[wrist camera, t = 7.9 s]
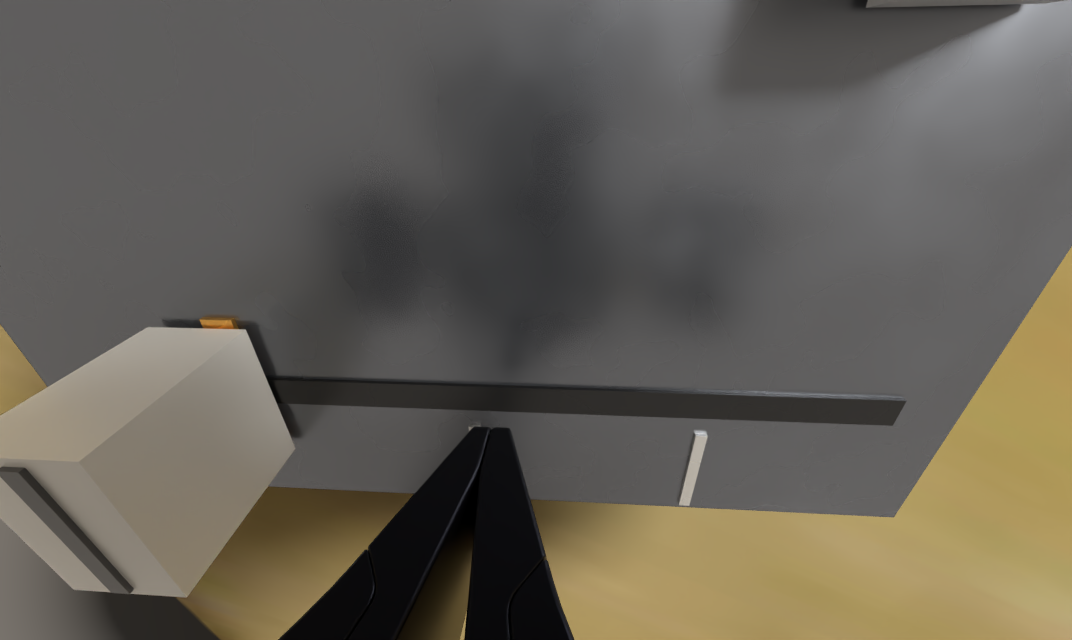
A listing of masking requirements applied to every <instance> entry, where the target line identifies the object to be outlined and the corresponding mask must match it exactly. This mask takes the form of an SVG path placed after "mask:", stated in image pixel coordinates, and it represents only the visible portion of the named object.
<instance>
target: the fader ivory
mask: <svg viewBox="0 0 1072 640" xmlns="http://www.w3.org/2000/svg"><path fill="white" fill-rule="evenodd" d="M295 449H296V448H295V446H294V444H293V441H292V439H291V436H290V434H289V432H288V429H287V427H286V424H285V422H284V420H283V417H282V415H281V412H280V410H279V408H278V405H277V403H276V401H275V398H274V396H273V393H272V391H271V389H270V386H269V384H268V381H267V379H266V377H265V374H264V372H263V369H262V367H261V365H260V362H259V360H258V358H257V355H256V353H255V350H254V348H253V346H252V343H251V341H250V338H249V336H248V334H247V331H246V330H245V329H205V328H165V327H147V328H145V329H144V330H142V331H140V332H139V333H137V334H135V335H134V336H132V337H130V338H129V339H127V340H125V341H124V342H122V343H120V344H119V345H117V346H115V347H114V348H112V349H110V350H109V351H107V352H105V353H104V354H102V355H100V356H99V357H97V358H95V359H94V360H92V361H90V362H89V363H87V364H85V365H84V366H82V367H80V368H79V369H77V370H75V371H74V372H72V373H70V374H69V375H67V376H65V377H64V378H62V379H60V380H59V381H57V382H55V383H54V384H52V385H50V386H49V387H47V388H45V389H44V390H42V391H40V392H39V393H37V394H35V395H34V396H32V397H30V398H29V399H27V400H25V401H24V402H22V403H20V404H19V405H17V406H15V407H14V408H12V409H10V410H9V411H7V412H5V413H4V414H2V415H0V519H1V520H2V521H3V522H4V523H5V524H7V526H8V527H10V528H11V530H12V531H14V532H15V533H16V534H17V535H18V536H19V537H20V538H21V539H22V540H23V541H24V542H25V543H26V544H27V545H28V546H29V547H30V548H31V549H32V550H33V551H34V552H35V553H36V554H37V555H38V556H40V558H41V559H42V560H43V561H44V562H46V563H47V564H48V565H49V566H50V567H51V568H52V569H53V570H54V571H55V572H56V573H57V574H58V575H59V576H60V577H61V578H62V579H63V580H64V581H65V582H66V583H67V584H68V585H69V586H70V587H71V588H72V589H74V590H83V591H98V592H111V593H120V594H144V595H157V596H158V595H159V596H172V597H188V595H189V594H190V593H191V591H192V590H193V589H194V587H195V586H196V584H197V583H198V582H199V580H200V579H201V578H202V576H203V575H204V573H205V572H206V571H207V569H208V568H209V567H210V565H211V564H212V562H213V561H214V560H215V558H216V557H217V556H218V554H219V553H220V552H221V550H222V549H223V547H224V546H225V545H226V543H227V542H228V541H229V539H230V538H231V536H232V535H233V534H234V532H235V531H236V530H237V528H238V527H239V525H240V524H241V523H242V521H243V520H244V519H245V517H246V516H247V514H248V513H249V512H250V510H251V509H252V508H253V506H254V505H255V503H256V502H257V501H258V499H259V498H260V497H261V495H262V494H263V493H264V491H265V490H266V488H267V487H268V486H269V484H270V483H271V482H272V480H273V479H274V477H275V476H276V475H277V473H278V472H279V471H280V469H281V468H282V466H283V465H284V464H285V462H286V461H287V460H288V458H289V457H290V455H291V454H292V453H293V451H294V450H295Z"/></svg>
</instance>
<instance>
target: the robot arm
mask: <svg viewBox="0 0 1072 640" xmlns="http://www.w3.org/2000/svg"><path fill="white" fill-rule="evenodd" d="M466 611H467V617H466V628H465V639H464V640H574V637H573V635H572V632H571V630H570V627H569V625H568V622H567V619H566V617H565V614H564V612H563V609H562V606H561V603H560V600H559V597H558V594H557V591H556V588H555V584H554V581H553V578H552V574H551V571H550V567H549V564H548V561H547V560H546V554H545V550H544V546H543V543H542V539H541V536H540V532H539V529H538V525H537V521H536V518H535V514H534V511H533V507H532V504H531V500H530V496H529V493H528V489H527V486H526V482H525V479H524V475H523V471H522V468H521V464H520V461H519V457H518V454H517V450H516V447H515V443H514V439H513V436H512V432H511V430H510V428H504V427H494V428H493V429H491V428H490V427H473V428H472V429H471V430H470V431H469V432H468V433H467V434H466V436H465V437H464V438H463V439H462V440H461V441H460V442H459V444H458V445H457V446H456V447H455V448H454V449H453V450H452V452H451V453H450V454H449V455H448V456H447V457H446V458H445V460H444V461H443V462H442V463H441V464H440V465H439V466H438V468H437V469H436V470H435V471H434V472H433V473H432V474H431V476H430V477H429V478H428V479H427V480H426V481H425V482H424V483H423V485H422V486H421V487H420V488H419V489H418V490H417V491H416V493H415V494H414V495H413V496H412V497H411V498H410V499H409V501H408V502H407V503H406V504H405V505H404V506H403V507H402V509H401V510H400V511H399V512H398V513H397V514H396V515H395V517H394V518H393V519H392V520H391V521H390V522H389V523H388V524H387V526H386V527H385V528H384V529H383V530H382V531H381V532H380V534H379V535H378V536H377V537H376V538H375V539H374V540H373V542H372V543H371V544H370V545H369V546H368V550H364V552H363V553H362V554H361V555H360V556H359V557H358V558H357V560H356V561H355V562H354V563H353V564H352V565H351V566H350V567H349V569H348V570H347V571H346V572H345V573H344V574H343V575H342V576H341V577H340V578H339V579H338V581H337V582H336V583H335V584H334V585H333V586H332V587H331V588H330V589H329V590H328V591H327V592H326V593H325V594H324V595H323V596H322V597H321V598H320V599H319V600H318V601H317V602H316V603H315V604H314V605H313V606H312V607H311V608H310V609H309V610H308V611H307V612H306V613H305V614H304V615H303V616H302V617H301V618H300V619H299V620H298V621H297V622H296V623H295V624H294V625H293V626H292V627H291V628H290V629H289V630H288V631H287V632H286V633H285V634H284V635H282V636H281V637H280V638H279V639H278V640H460V636H461V632H462V628H463V624H464V619H465V615H466Z"/></svg>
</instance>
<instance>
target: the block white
mask: <svg viewBox="0 0 1072 640" xmlns="http://www.w3.org/2000/svg"><path fill="white" fill-rule="evenodd" d="M1059 1H1065V0H868V2H867V5H866V8H874V7H918V6H962V5H1006V4H1045V3H1052V2H1059Z"/></svg>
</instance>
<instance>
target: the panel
mask: <svg viewBox="0 0 1072 640" xmlns="http://www.w3.org/2000/svg"><path fill="white" fill-rule="evenodd" d="M867 2H868V0H0V324H1V326H2V327H3V328H4V330H5V331H6V332H7V334H8V335H9V336H10V337H11V339H12V340H13V341H14V343H15V344H16V345H17V347H18V348H19V349H20V351H21V352H22V353H23V355H24V356H25V357H26V359H27V360H28V361H29V363H30V364H31V365H32V367H33V368H34V369H35V371H36V372H37V373H38V375H39V376H40V377H41V379H42V380H43V381H44V383H45V384H46V385H47V387H49V386H50V385H52V384H54V383H55V382H57V381H59V380H60V379H62V378H64V377H65V376H67V375H69V374H70V373H72V372H74V371H75V370H77V369H79V368H80V367H82V366H84V365H85V364H87V363H89V362H90V361H92V360H94V359H95V358H97V357H99V356H100V355H102V354H104V353H105V352H107V351H109V350H110V349H112V348H114V347H115V346H117V345H119V344H120V343H122V342H124V341H125V340H127V339H129V338H130V337H132V336H134V335H135V334H137V333H139V332H140V331H142V330H144V329H145V328H147V327H165V328H205V329H245V330H246V331H247V334H248V336H249V338H250V341H251V343H252V346H253V348H254V350H255V353H256V355H257V358H258V360H259V362H260V365H261V367H262V369H263V372H264V374H265V377H266V379H267V381H268V384H269V386H270V389H271V391H272V393H273V396H274V398H275V401H276V403H277V405H278V408H279V410H280V412H281V415H282V417H283V420H284V422H285V424H286V427H287V429H288V432H289V434H290V436H291V439H292V441H293V444H294V446H295V448H296V449H295V450H294V451H293V453H292V454H291V455H290V457H289V458H288V460H287V461H286V462H285V464H284V465H283V466H282V468H281V469H280V471H279V472H278V473H277V475H276V476H275V477H274V479H273V480H272V482H271V483H270V484H269V486H270V487H290V488H310V489H331V490H351V491H371V492H391V493H412V494H415V493H416V491H417V490H418V489H419V488H420V487H421V486H422V485H423V483H424V482H425V481H426V480H427V479H428V478H429V477H430V476H431V474H432V473H433V472H434V471H435V470H436V469H437V468H438V466H439V465H440V464H441V463H442V462H443V461H444V460H445V458H446V457H447V456H448V455H449V454H450V453H451V452H452V450H453V449H454V448H455V447H456V446H457V445H458V444H459V442H460V441H461V440H462V439H463V438H464V437H465V436H466V434H467V433H468V432H469V431H470V430H471V429H472V428H473V427H490V428H491V429H493V428H494V427H504V428H510V430H511V432H512V436H513V439H514V443H515V447H516V450H517V454H518V457H519V461H520V464H521V468H522V471H523V475H524V479H525V482H526V486H527V489H528V493H529V496H530V499H533V500H554V501H574V502H594V503H614V504H635V505H655V506H675V507H695V508H716V509H736V510H756V511H776V512H797V513H817V514H837V515H857V516H878V517H894V516H895V515H896V513H897V512H898V510H899V508H900V507H901V505H902V504H903V502H904V501H905V499H906V498H907V496H908V495H909V493H910V492H911V490H912V489H913V487H914V486H915V484H916V483H917V481H918V480H919V478H920V476H921V475H922V473H923V472H924V470H925V469H926V467H927V466H928V464H929V463H930V461H931V460H932V458H933V457H934V455H935V454H936V452H937V451H938V449H939V448H940V446H941V444H942V443H943V441H944V440H945V438H946V437H947V435H948V434H949V432H950V431H951V429H952V428H953V426H954V425H955V423H956V422H957V420H958V419H959V417H960V416H961V414H962V412H963V411H964V409H965V408H966V406H967V405H968V403H969V402H970V400H971V399H972V397H973V396H974V394H975V393H976V391H977V390H978V388H979V387H980V385H981V384H982V382H983V380H984V379H985V377H986V376H987V374H988V373H989V371H990V370H991V368H992V367H993V365H994V364H995V362H996V361H997V359H998V358H999V356H1000V355H1001V353H1002V352H1003V350H1004V348H1005V347H1006V345H1007V344H1008V342H1009V341H1010V339H1011V338H1012V336H1013V335H1014V333H1015V332H1016V330H1017V329H1018V327H1019V326H1020V324H1021V323H1022V321H1023V320H1024V318H1025V316H1026V315H1027V313H1028V312H1029V310H1030V309H1031V307H1032V306H1033V304H1034V303H1035V301H1036V300H1037V298H1038V297H1039V295H1040V294H1041V292H1042V291H1043V289H1044V288H1045V286H1046V284H1047V283H1048V281H1049V280H1050V278H1051V277H1052V275H1053V274H1054V272H1055V271H1056V269H1057V268H1058V266H1059V265H1060V263H1061V262H1062V260H1063V259H1064V257H1065V256H1066V254H1067V252H1068V251H1069V249H1070V248H1071V246H1072V0H1065V1H1059V2H1052V3H1045V4H1006V5H962V6H918V7H874V8H866V5H867Z"/></svg>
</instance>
